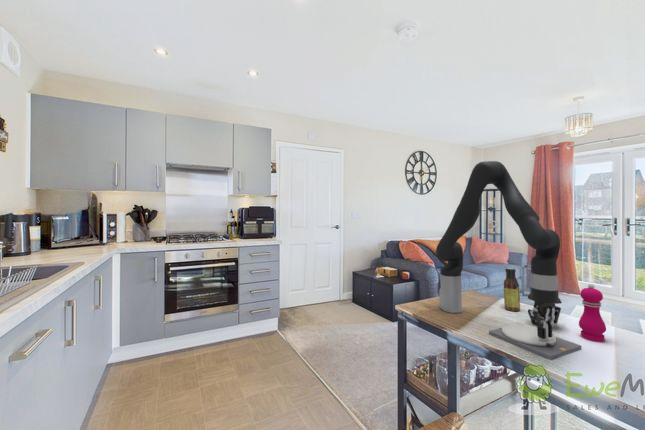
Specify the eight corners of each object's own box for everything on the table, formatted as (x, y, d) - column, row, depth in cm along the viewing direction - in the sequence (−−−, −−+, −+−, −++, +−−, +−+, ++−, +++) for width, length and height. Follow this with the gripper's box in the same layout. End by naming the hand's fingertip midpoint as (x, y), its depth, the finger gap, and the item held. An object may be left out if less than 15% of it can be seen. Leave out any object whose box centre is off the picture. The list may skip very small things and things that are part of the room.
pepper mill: (573, 334, 105) (572, 282, 105) (591, 333, 106) (589, 281, 106) (593, 343, 98) (592, 287, 98) (612, 341, 98) (611, 286, 98)
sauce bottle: (522, 312, 129) (521, 269, 129) (507, 311, 130) (506, 269, 130) (515, 307, 135) (515, 267, 135) (501, 307, 137) (500, 267, 137)
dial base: (489, 334, 107) (488, 330, 107) (517, 326, 113) (517, 323, 113) (550, 360, 87) (550, 355, 87) (581, 349, 94) (581, 345, 94)
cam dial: (492, 328, 109) (491, 310, 109) (529, 325, 111) (528, 307, 111) (530, 350, 91) (530, 328, 91) (573, 346, 93) (573, 325, 93)
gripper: (542, 291, 89) (543, 345, 89) (569, 287, 94) (570, 338, 94) (518, 286, 96) (519, 335, 96) (545, 282, 101) (546, 330, 101)
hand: (545, 337), depth 95 cm, fingers closed on cam dial, 2 cm apart
